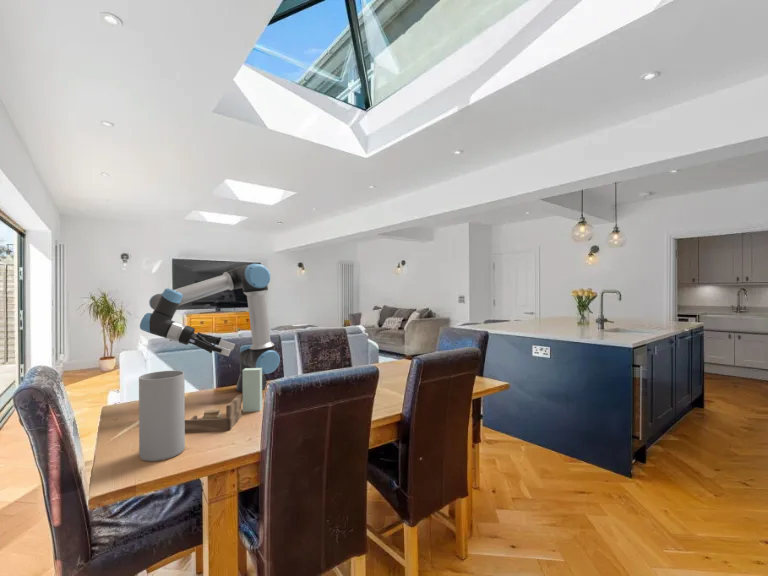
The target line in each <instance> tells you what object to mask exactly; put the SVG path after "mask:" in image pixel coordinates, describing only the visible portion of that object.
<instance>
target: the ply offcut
mask: <svg viewBox="0 0 768 576" xmlns="http://www.w3.org/2000/svg"><path fill="white" fill-rule="evenodd" d="M201 418H202V419H221V418H223V417H222V413H219V415H218V416H216V417H204V415H203V416H202V417H201Z"/></svg>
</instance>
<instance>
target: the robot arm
mask: <svg viewBox="0 0 768 576" xmlns="http://www.w3.org/2000/svg"><path fill="white" fill-rule="evenodd" d="M270 281H271V273H270V270H269V269H268V268H267V267H266V266H265V265H263V264H260V263H251V264H243V265H241V266H237V267H235V268H233V269H231V270H228V271H225V272H223V273H222V274H221V275H217V276H215V277H212V278H208V279H205V280H202V281H199V282H195V283H192V284H188V285H185V286H182V287H179V288H176V289H171V288H165V289H164V290H163V292H162V293H156V294H154V295H152V296H151V297H150V299H149V302H148V303H149V304H148V305H149V307H150V308H151V309H152V310H153V311H152V313H151V312H146V313H145V314H144V316H143V317H141V318H142V319H141V320H140V324H139V329H140V330H141V331H143V332H145V333H148V334H152V335H155V336H158V337H161V338H165V339H167V340H169V341H170V342H172V341H173V342H178V343H179V344H183V345H189V344H190V345H193V346H196V347H198V348H200V349H202V350H204V351H207V352H209V353H210V354H213V353H216V354H219V355H223V356H226V357H229V356H230V354H231V352H232V351H233V350H234V349H235V347H236V343H234V342H233V343H232V342H230V341H227V340H224V339H222V337H221V336H219V337H218V336H213V335H210V334H205V333H201V332H197V333H195V331H196V330H195V327H192V326H190V325H185V324H184V323H181V322H178V321H174V320H173V317H174V316H175V314H176V312H177V310H178V308H179V306H182V305H184V304H187V303H190V302H194V301H197V300H200V299H204V298H205V297H209V296H212V295H215V294H218V293H221V292H224V291H228V290H229V291H233V290H238V289H242V292H243V295H245V296H246V300H247V307H248V308H247V309H248V314H249V322H250V323H249V324H250V331H251V332H250V333H251V341H252V343H251V344H248V345H247V344H245V345H242V346H240V348H239V377H238V381H237V383H236V391H237V392H241V393H243V372H242V370H244V369H245V368H262V391H264V390H266V389H265V387H266V384H267V385H268V383H267V379H266V376H265V374H266V375H268V374H272V373H273V372H275V371H276V370H277V368H278V367H279V365H280V362H281V358H280V355H279V353H278V352H277V351H276V349H275V343H274V342H272V341H271V334H270V324H269V316H268V315H269V313H268V305H267V299H266V298H267V297H266V294H267V292H268V290H269V286H268V285H269V283H270Z"/></svg>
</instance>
